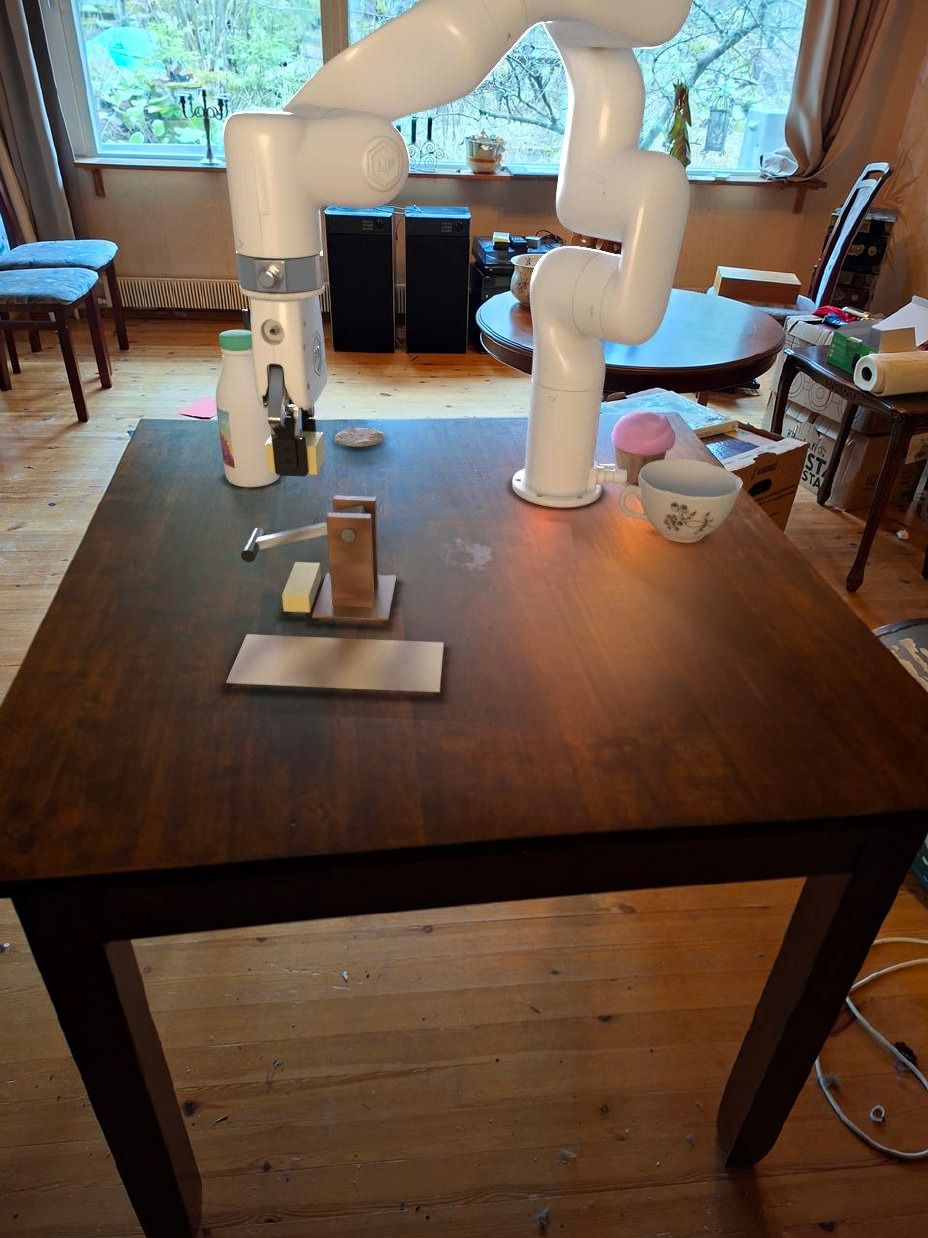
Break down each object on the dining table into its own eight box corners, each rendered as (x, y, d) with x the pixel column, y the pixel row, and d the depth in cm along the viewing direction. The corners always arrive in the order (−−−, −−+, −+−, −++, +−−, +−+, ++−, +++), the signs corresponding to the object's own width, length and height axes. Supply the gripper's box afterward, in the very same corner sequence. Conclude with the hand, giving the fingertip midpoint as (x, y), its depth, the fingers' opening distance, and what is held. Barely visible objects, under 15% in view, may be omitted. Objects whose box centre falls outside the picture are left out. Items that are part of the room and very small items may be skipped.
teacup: (709, 510, 113) (721, 455, 109) (744, 555, 103) (759, 496, 99) (601, 512, 112) (609, 456, 107) (626, 558, 102) (636, 498, 97)
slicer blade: (246, 567, 86) (236, 547, 85) (257, 544, 90) (248, 525, 89) (365, 540, 84) (358, 520, 83) (371, 518, 88) (364, 498, 87)
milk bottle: (288, 468, 121) (274, 327, 110) (272, 490, 114) (257, 343, 103) (236, 464, 121) (218, 323, 110) (218, 486, 115) (196, 339, 104)
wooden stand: (312, 625, 87) (304, 525, 81) (326, 581, 95) (320, 486, 88) (388, 628, 87) (386, 528, 81) (396, 584, 95) (395, 489, 88)
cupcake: (679, 485, 120) (691, 418, 114) (629, 495, 117) (640, 427, 111) (642, 462, 127) (652, 398, 121) (594, 471, 123) (602, 405, 118)
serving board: (443, 650, 84) (444, 642, 84) (439, 700, 78) (439, 691, 77) (247, 642, 85) (246, 634, 84) (226, 691, 78) (225, 682, 77)
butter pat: (325, 459, 86) (323, 431, 84) (317, 475, 83) (315, 446, 81) (277, 457, 86) (274, 429, 84) (267, 472, 83) (264, 444, 81)
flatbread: (364, 427, 135) (364, 421, 134) (394, 440, 130) (394, 434, 130) (323, 439, 130) (323, 433, 129) (354, 454, 126) (353, 447, 125)
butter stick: (321, 585, 94) (320, 562, 92) (310, 619, 88) (308, 596, 87) (297, 584, 94) (295, 561, 92) (284, 618, 88) (281, 594, 87)
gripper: (303, 296, 67) (317, 502, 77) (339, 257, 81) (347, 436, 91) (211, 292, 67) (237, 498, 77) (263, 254, 81) (279, 433, 91)
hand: (297, 463), depth 84 cm, fingers closed on butter pat, 4 cm apart
